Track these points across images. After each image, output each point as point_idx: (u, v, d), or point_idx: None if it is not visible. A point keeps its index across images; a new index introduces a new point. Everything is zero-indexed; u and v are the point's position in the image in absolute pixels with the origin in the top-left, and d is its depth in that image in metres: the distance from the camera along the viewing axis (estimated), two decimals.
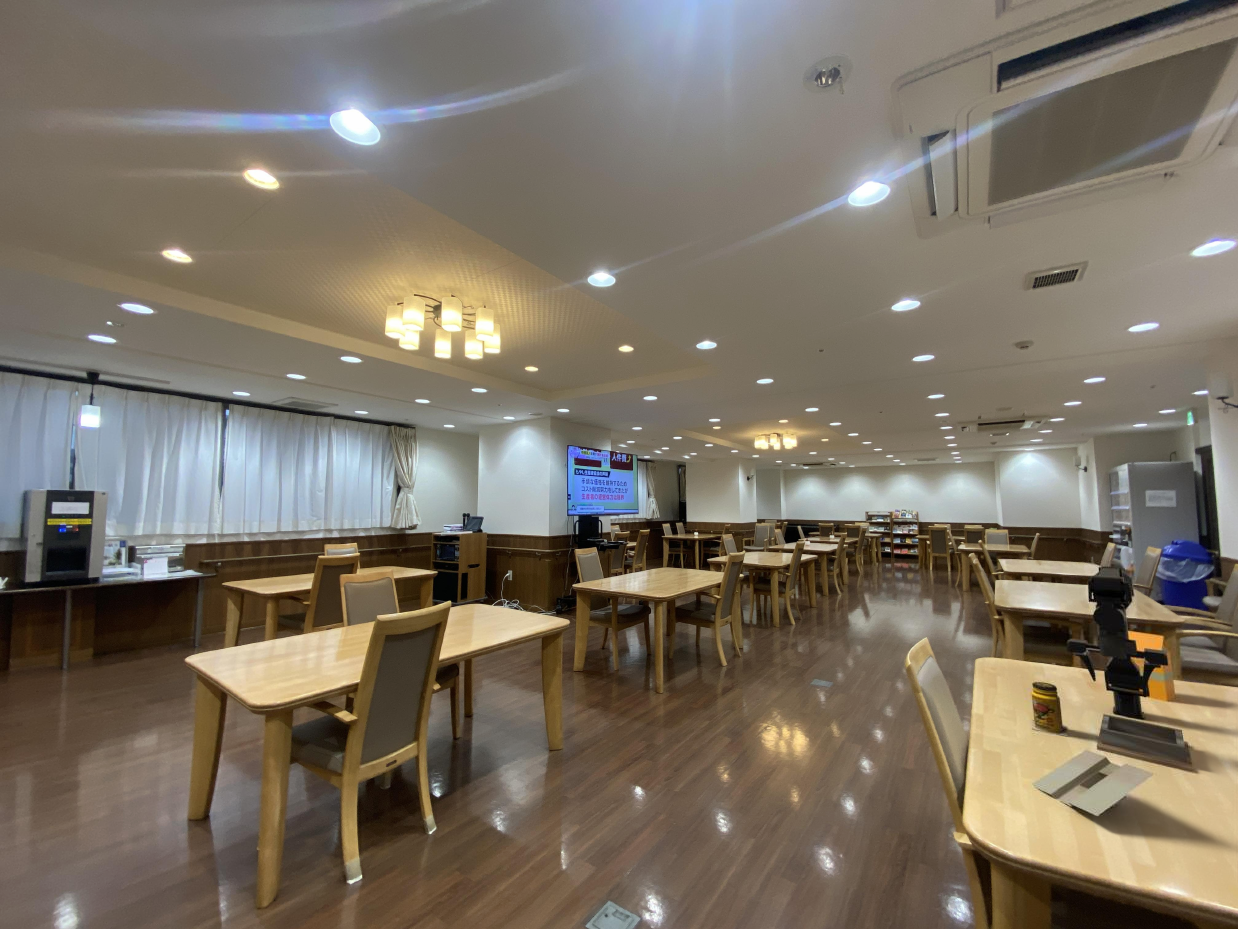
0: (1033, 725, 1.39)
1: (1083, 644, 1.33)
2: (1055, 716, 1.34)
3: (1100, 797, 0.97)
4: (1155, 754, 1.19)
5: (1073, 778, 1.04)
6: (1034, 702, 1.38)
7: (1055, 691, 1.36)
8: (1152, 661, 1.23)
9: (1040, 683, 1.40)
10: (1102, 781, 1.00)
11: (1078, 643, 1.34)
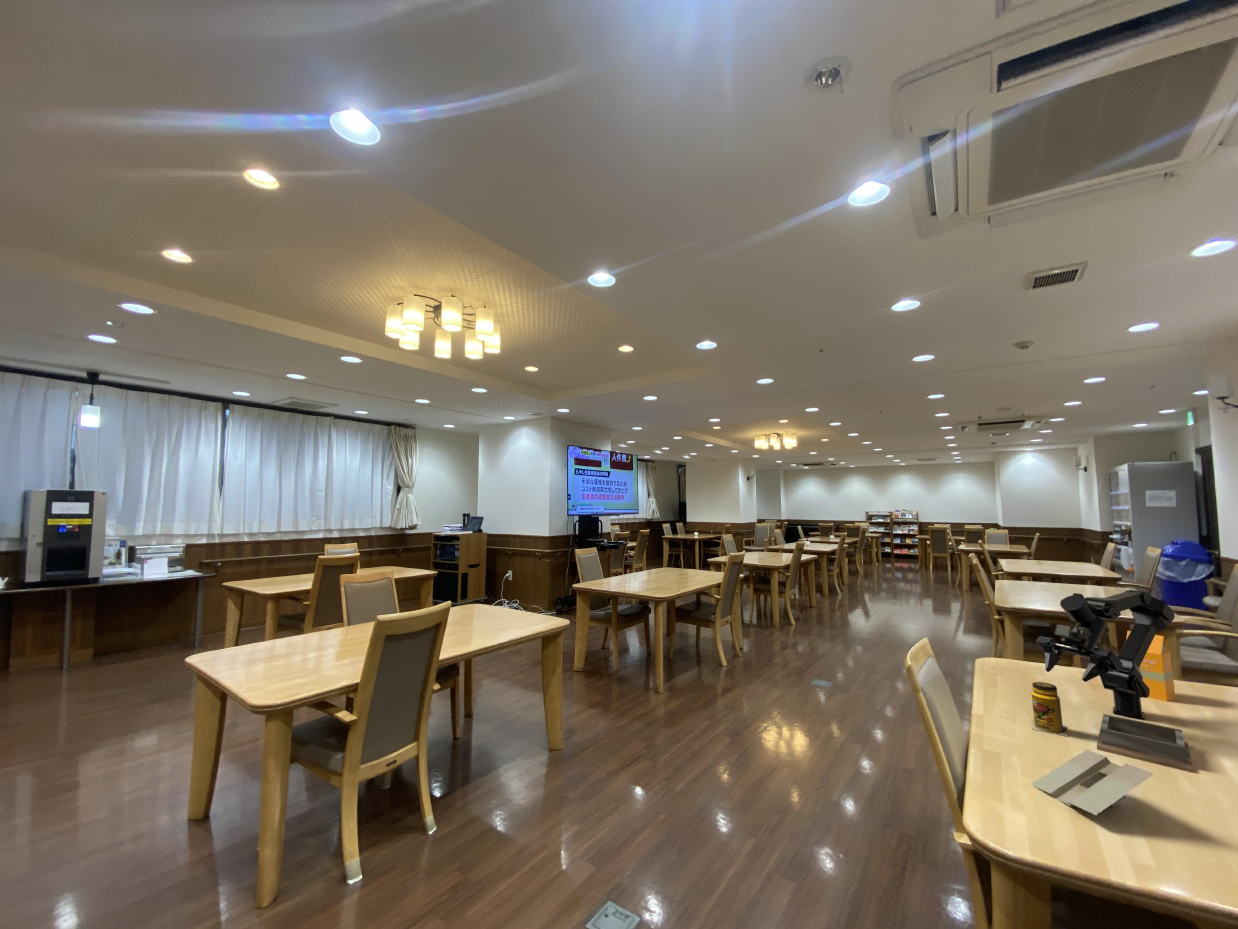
0: (1033, 725, 1.39)
1: (1051, 638, 1.49)
2: (1055, 716, 1.34)
3: (1099, 797, 0.97)
4: (1155, 754, 1.19)
5: (1073, 778, 1.04)
6: (1034, 702, 1.38)
7: (1055, 691, 1.36)
8: (1098, 652, 1.37)
9: (1040, 683, 1.40)
10: (1102, 781, 1.00)
11: (1047, 637, 1.50)
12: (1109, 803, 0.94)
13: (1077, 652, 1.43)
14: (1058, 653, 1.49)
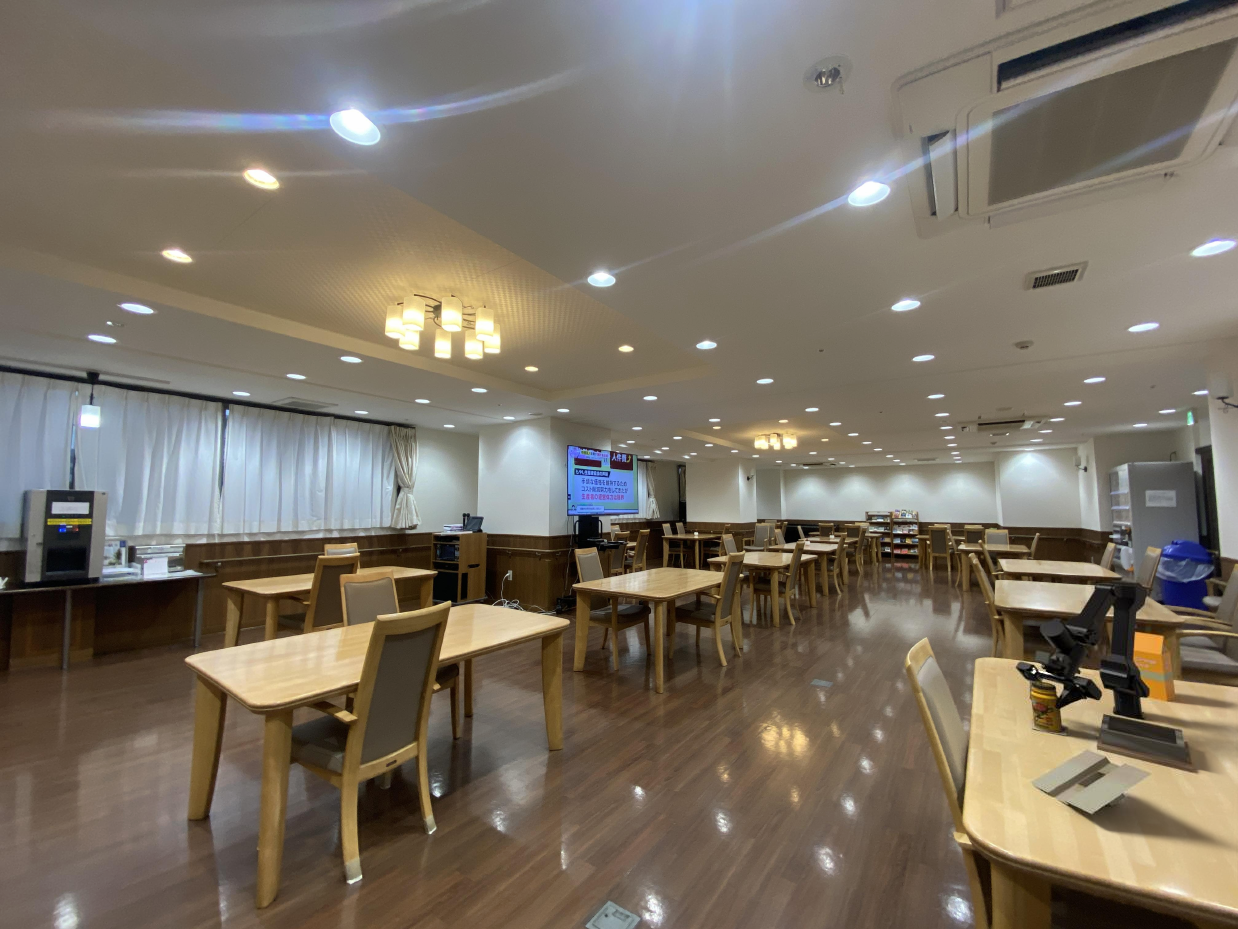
0: (1032, 724, 1.39)
1: (1031, 664, 1.46)
2: (1054, 715, 1.35)
3: (1096, 796, 0.97)
4: (1155, 754, 1.19)
5: (1071, 777, 1.05)
6: (1033, 701, 1.38)
7: (1054, 690, 1.36)
8: (1077, 681, 1.33)
9: (1040, 682, 1.40)
10: (1100, 780, 1.00)
11: (1027, 663, 1.47)
12: (1105, 802, 0.95)
13: (1057, 679, 1.40)
14: None
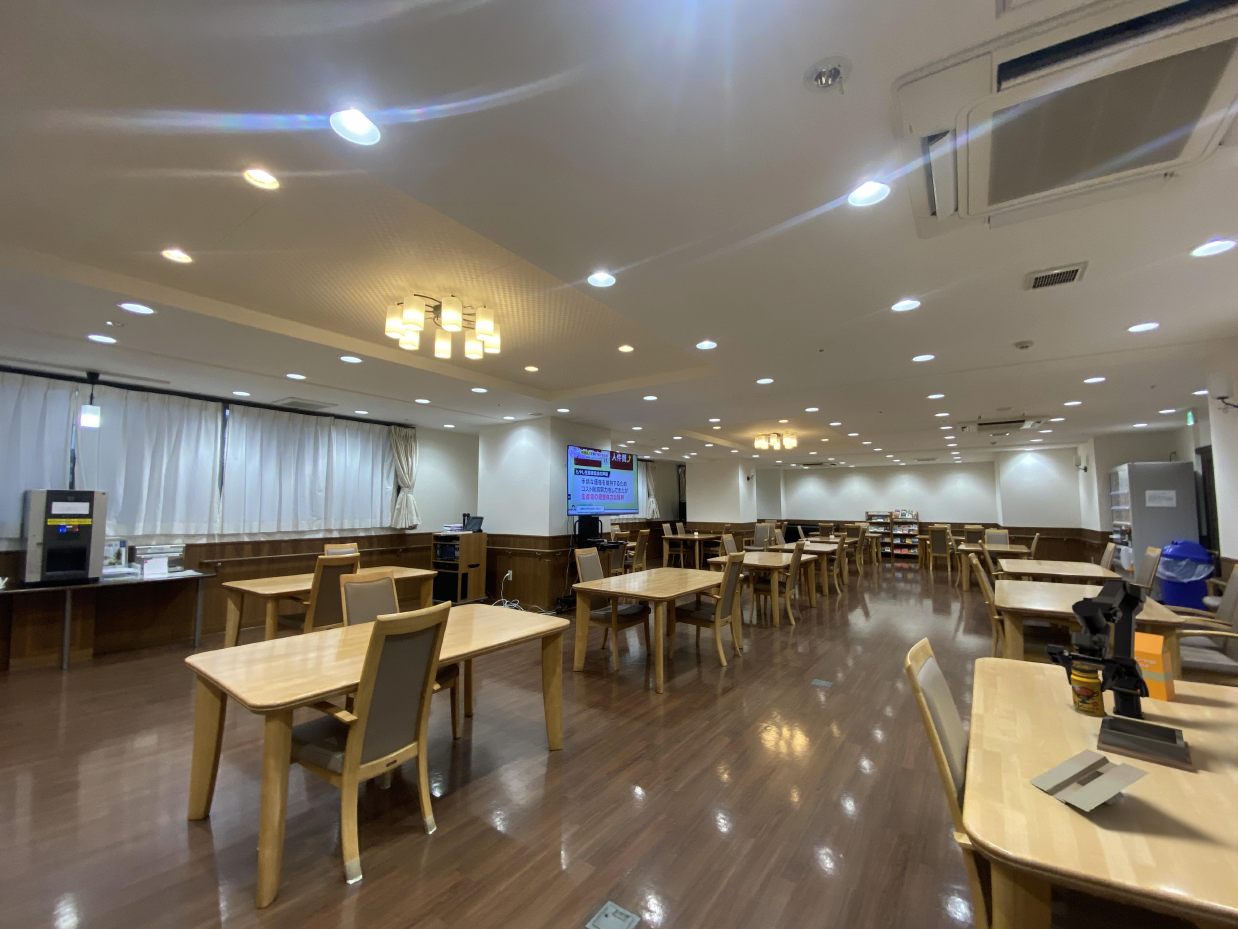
0: (1073, 710, 1.33)
1: (1061, 646, 1.40)
2: (1100, 699, 1.29)
3: (1093, 794, 0.98)
4: (1155, 754, 1.19)
5: (1070, 776, 1.05)
6: (1076, 686, 1.32)
7: (1097, 673, 1.30)
8: (1121, 661, 1.29)
9: (1079, 665, 1.34)
10: (1097, 779, 1.00)
11: None
12: (1102, 800, 0.95)
13: (1092, 660, 1.35)
14: None
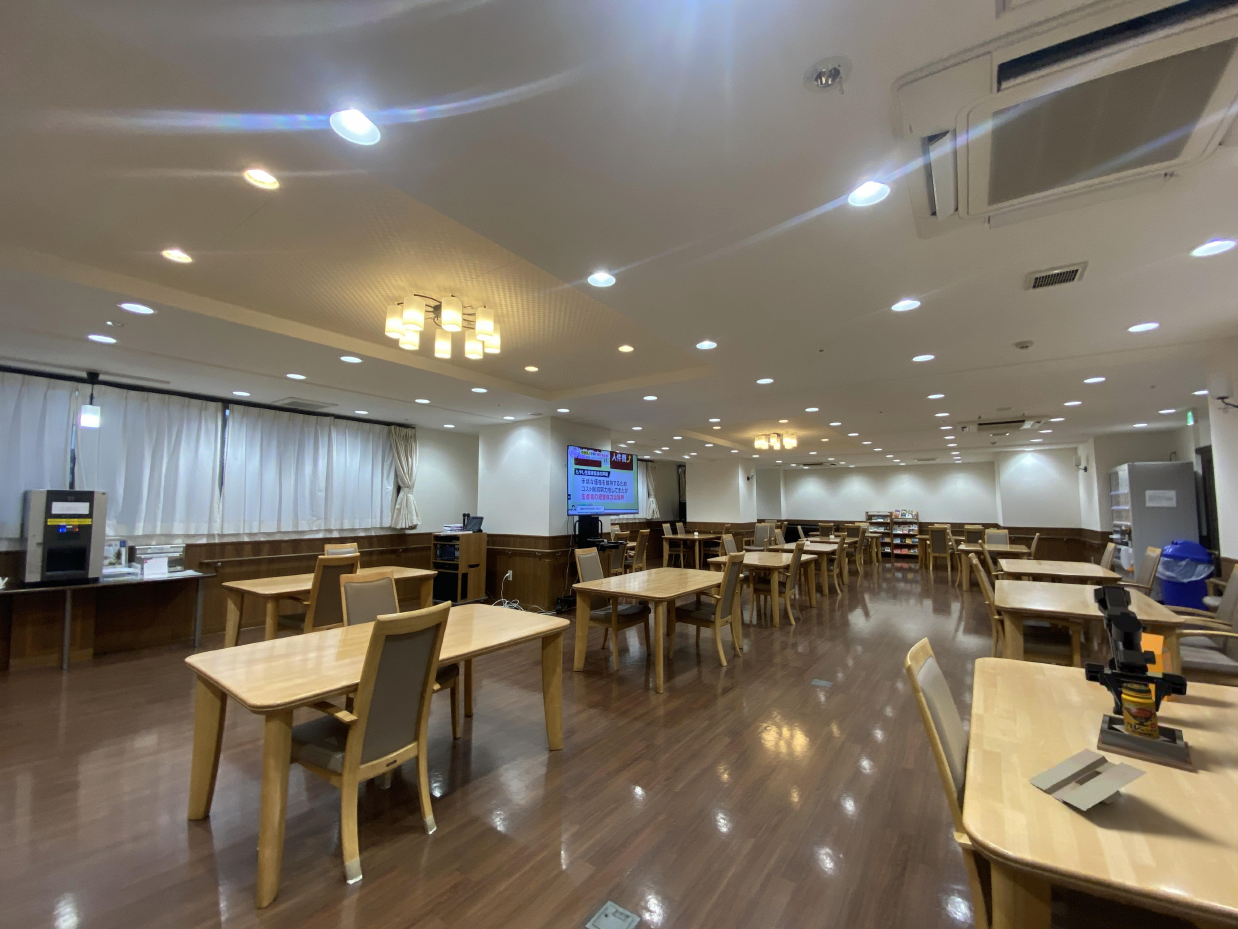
0: (1126, 733, 1.26)
1: (1101, 664, 1.35)
2: (1156, 720, 1.24)
3: (1091, 793, 0.98)
4: (1155, 754, 1.19)
5: (1068, 776, 1.05)
6: (1133, 708, 1.25)
7: None
8: (1171, 678, 1.25)
9: (1129, 685, 1.28)
10: (1095, 778, 1.01)
11: (1096, 663, 1.35)
12: (1099, 799, 0.96)
13: (1135, 678, 1.30)
14: None
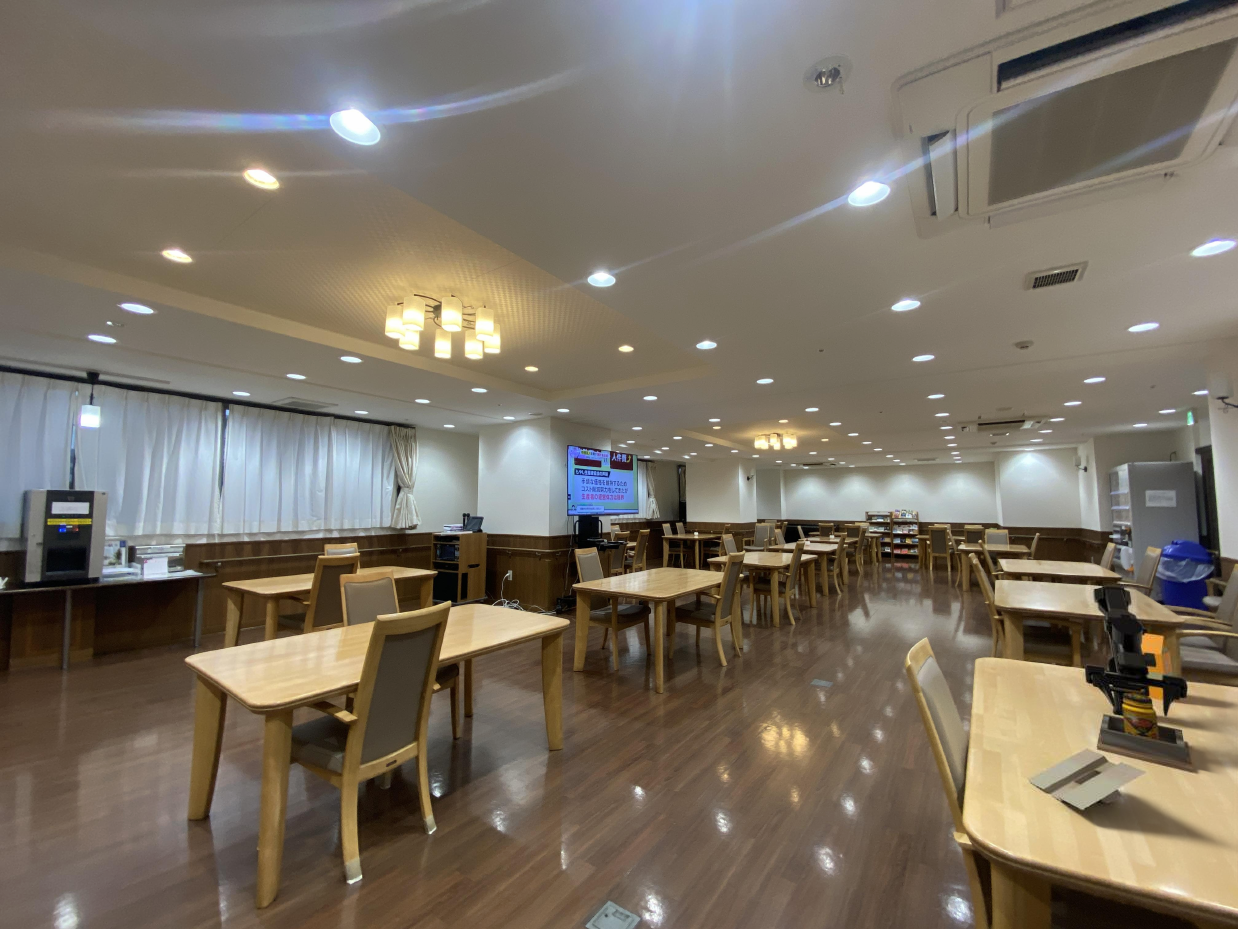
0: None
1: (1101, 666, 1.34)
2: (1157, 730, 1.23)
3: (1089, 793, 0.98)
4: (1155, 754, 1.19)
5: (1067, 775, 1.06)
6: (1134, 718, 1.25)
7: None
8: (1171, 681, 1.25)
9: (1130, 694, 1.28)
10: (1095, 778, 1.01)
11: (1096, 665, 1.35)
12: (1097, 799, 0.96)
13: (1135, 680, 1.30)
14: None
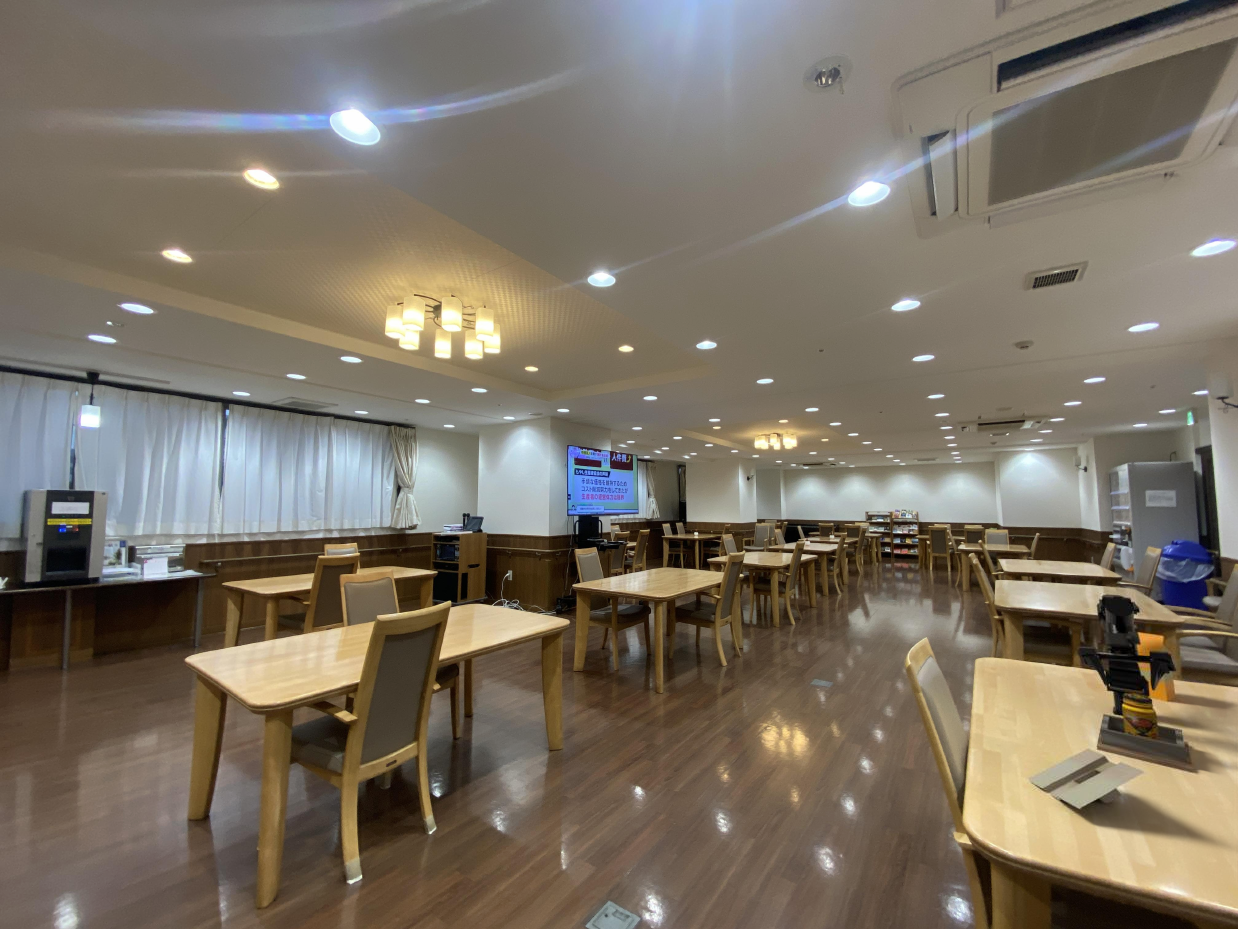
0: None
1: (1093, 647, 1.42)
2: (1157, 730, 1.23)
3: (1087, 792, 0.98)
4: (1155, 754, 1.19)
5: (1067, 775, 1.06)
6: (1134, 718, 1.25)
7: None
8: (1156, 656, 1.32)
9: (1130, 694, 1.28)
10: (1093, 777, 1.01)
11: (1088, 647, 1.43)
12: (1094, 798, 0.96)
13: (1126, 658, 1.38)
14: None
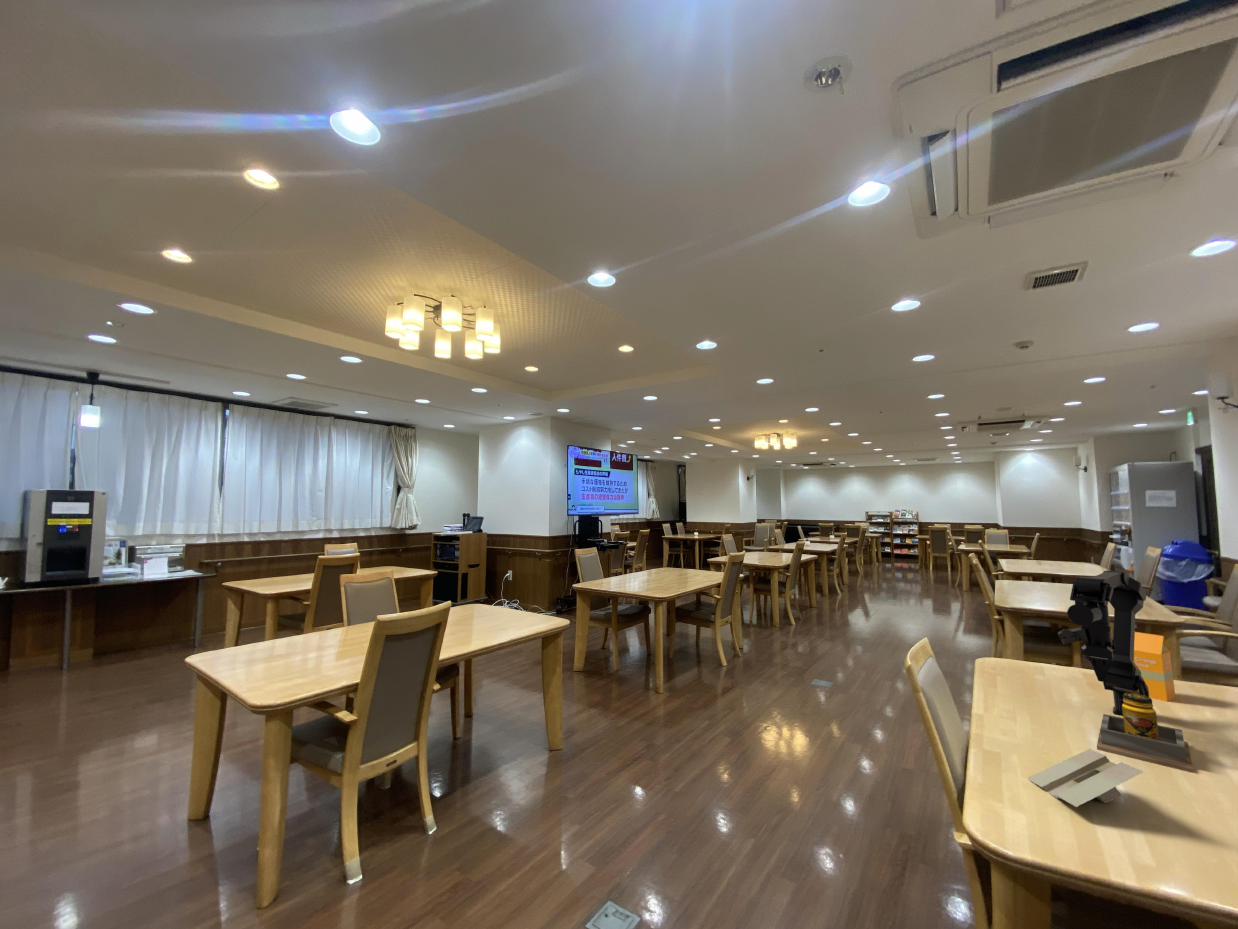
0: None
1: None
2: (1157, 730, 1.23)
3: (1085, 791, 0.99)
4: (1155, 754, 1.19)
5: (1067, 774, 1.06)
6: (1134, 718, 1.25)
7: None
8: None
9: (1130, 694, 1.28)
10: (1093, 777, 1.01)
11: None
12: (1092, 797, 0.96)
13: None
14: (1111, 645, 1.44)
